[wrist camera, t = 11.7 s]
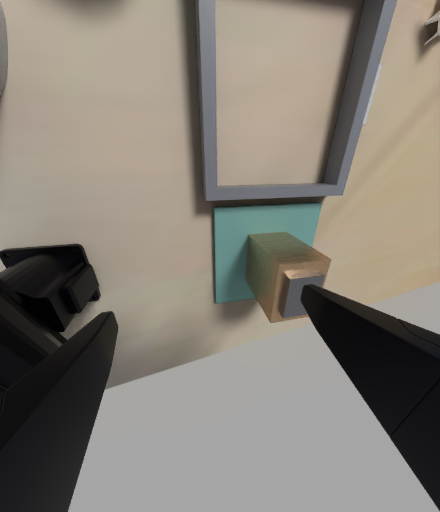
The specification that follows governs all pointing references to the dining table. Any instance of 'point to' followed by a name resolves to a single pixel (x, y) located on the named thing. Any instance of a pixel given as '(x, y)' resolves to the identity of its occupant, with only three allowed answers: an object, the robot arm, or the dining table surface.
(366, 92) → the grey tapered frame
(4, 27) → the lumpy-topped squat cylinder
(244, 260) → the service mat
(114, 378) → the dining table surface
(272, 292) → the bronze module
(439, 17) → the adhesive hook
